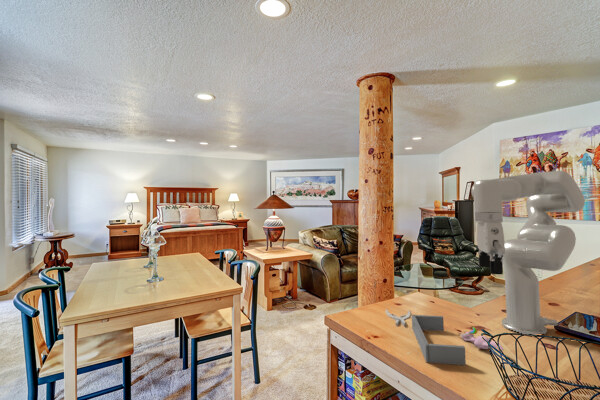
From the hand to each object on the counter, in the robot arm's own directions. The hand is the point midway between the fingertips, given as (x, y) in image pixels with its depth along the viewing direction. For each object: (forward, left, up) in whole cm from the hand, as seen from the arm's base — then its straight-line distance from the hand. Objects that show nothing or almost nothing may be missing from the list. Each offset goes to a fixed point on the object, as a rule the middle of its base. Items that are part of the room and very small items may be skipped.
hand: (490, 270), depth 91 cm
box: (+18, +3, -24) cm, 30 cm away
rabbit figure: (+5, +3, -24) cm, 25 cm away
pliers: (+27, -17, -24) cm, 40 cm away
